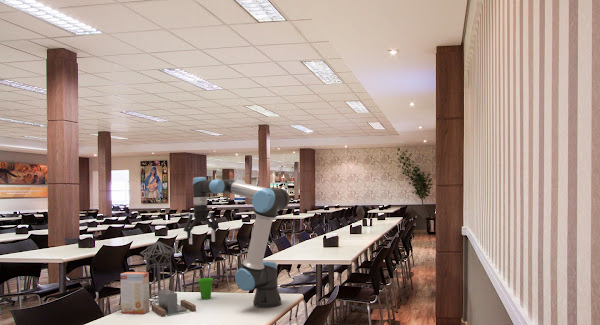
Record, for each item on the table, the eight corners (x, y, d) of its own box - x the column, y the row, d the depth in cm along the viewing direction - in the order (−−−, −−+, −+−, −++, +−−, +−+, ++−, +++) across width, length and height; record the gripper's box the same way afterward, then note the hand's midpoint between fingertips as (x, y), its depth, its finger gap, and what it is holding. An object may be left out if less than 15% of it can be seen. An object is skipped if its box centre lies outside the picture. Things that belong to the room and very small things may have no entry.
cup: (210, 300, 293) (209, 280, 294) (195, 300, 295) (195, 281, 296) (216, 296, 302) (215, 278, 303) (201, 296, 304) (201, 278, 304)
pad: (190, 312, 266) (190, 311, 266) (167, 315, 260) (167, 315, 260) (178, 306, 282) (178, 305, 282) (157, 309, 275) (157, 308, 275)
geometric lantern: (165, 307, 278) (163, 243, 280) (139, 307, 283) (138, 243, 284) (179, 301, 294) (177, 240, 295) (154, 300, 298) (153, 240, 299)
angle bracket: (158, 308, 275) (158, 290, 275) (176, 306, 280) (176, 287, 281) (167, 314, 261) (167, 294, 262) (186, 311, 267) (186, 292, 267)
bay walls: (195, 311, 268) (195, 305, 268) (161, 316, 258) (161, 310, 259) (184, 305, 283) (184, 299, 283) (151, 310, 274) (151, 304, 274)
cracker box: (150, 311, 271) (149, 271, 272) (143, 314, 266) (142, 273, 267) (128, 310, 276) (127, 271, 277) (120, 313, 270) (119, 273, 271)
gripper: (181, 206, 277) (183, 245, 276) (223, 203, 292) (225, 240, 290) (176, 206, 284) (178, 244, 282) (217, 203, 298) (219, 240, 297)
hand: (202, 242), depth 286 cm, fingers open, 13 cm apart
